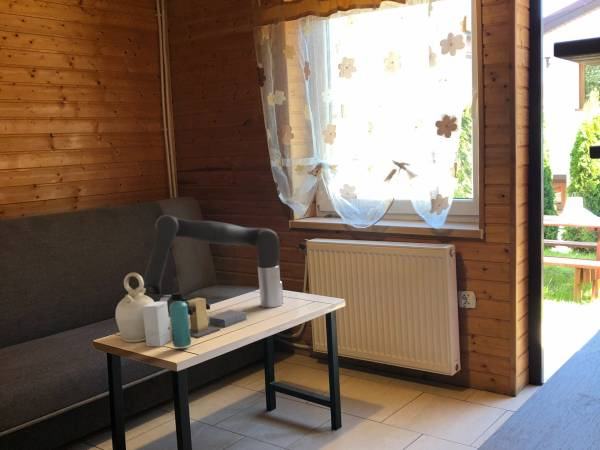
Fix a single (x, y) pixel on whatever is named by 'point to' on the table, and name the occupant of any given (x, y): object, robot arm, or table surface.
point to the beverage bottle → (179, 321)
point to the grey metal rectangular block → (227, 318)
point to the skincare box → (156, 324)
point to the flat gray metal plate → (204, 332)
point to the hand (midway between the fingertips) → (201, 309)
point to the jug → (132, 311)
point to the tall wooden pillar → (198, 315)
